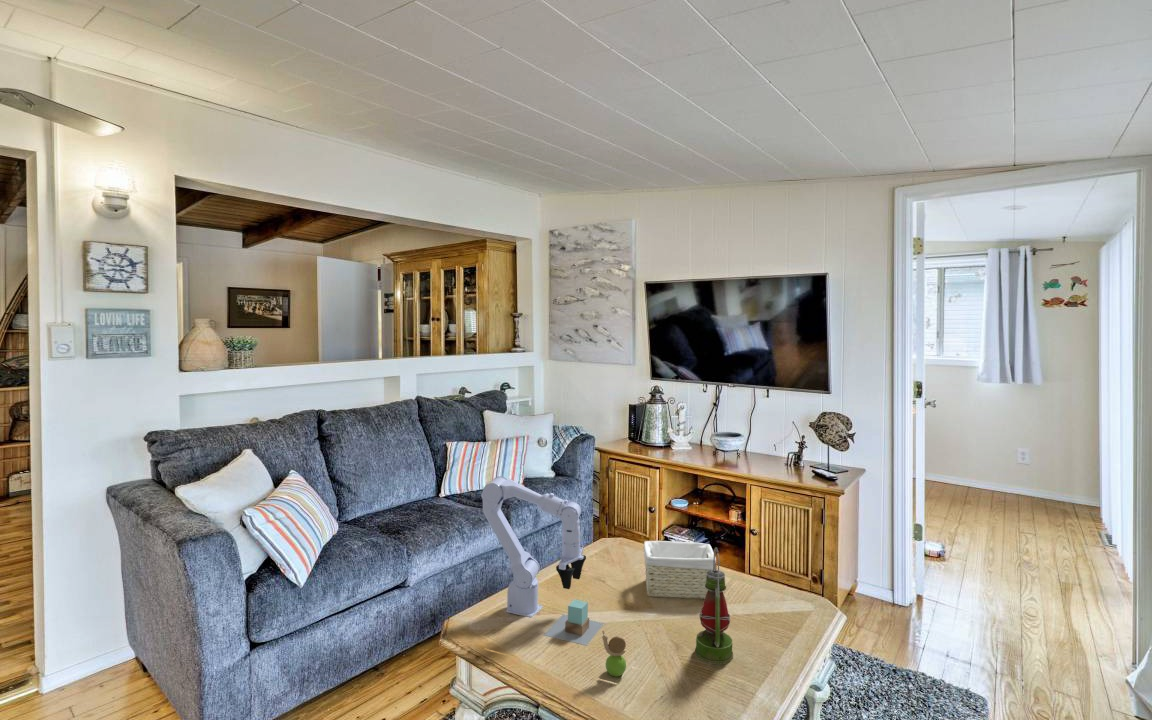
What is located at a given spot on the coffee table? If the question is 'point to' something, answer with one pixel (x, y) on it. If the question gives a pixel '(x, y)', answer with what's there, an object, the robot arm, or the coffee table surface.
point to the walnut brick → (576, 627)
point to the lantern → (714, 620)
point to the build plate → (559, 632)
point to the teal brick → (577, 612)
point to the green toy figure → (615, 655)
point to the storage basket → (677, 568)
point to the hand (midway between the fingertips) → (571, 583)
